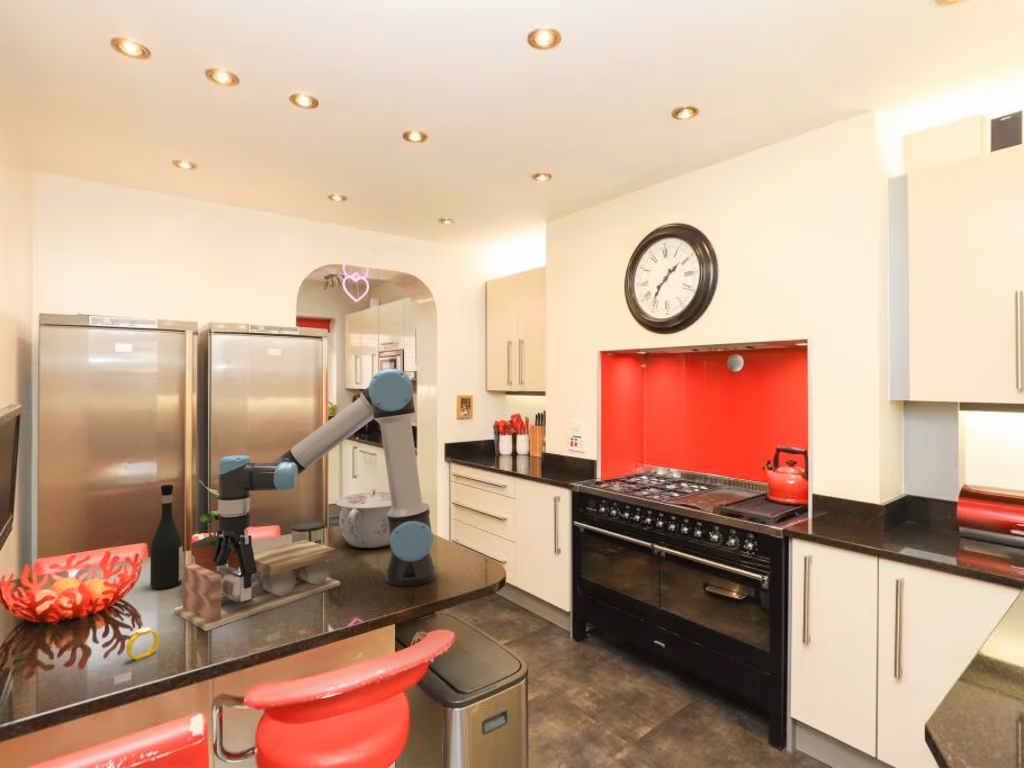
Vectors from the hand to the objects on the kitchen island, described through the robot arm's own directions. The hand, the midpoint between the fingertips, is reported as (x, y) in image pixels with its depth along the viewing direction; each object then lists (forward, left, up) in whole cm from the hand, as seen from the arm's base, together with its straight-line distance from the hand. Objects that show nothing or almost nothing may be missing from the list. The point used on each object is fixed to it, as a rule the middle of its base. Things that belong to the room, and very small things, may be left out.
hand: (233, 594), depth 145 cm
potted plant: (+20, -6, -4) cm, 21 cm away
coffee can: (+14, -31, -4) cm, 34 cm away
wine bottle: (+33, +4, -4) cm, 33 cm away
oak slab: (0, -16, +5) cm, 17 cm away
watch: (-11, +25, -4) cm, 28 cm away
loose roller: (0, 0, -1) cm, 1 cm away
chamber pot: (+19, -61, -4) cm, 64 cm away
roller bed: (0, -8, -4) cm, 9 cm away
